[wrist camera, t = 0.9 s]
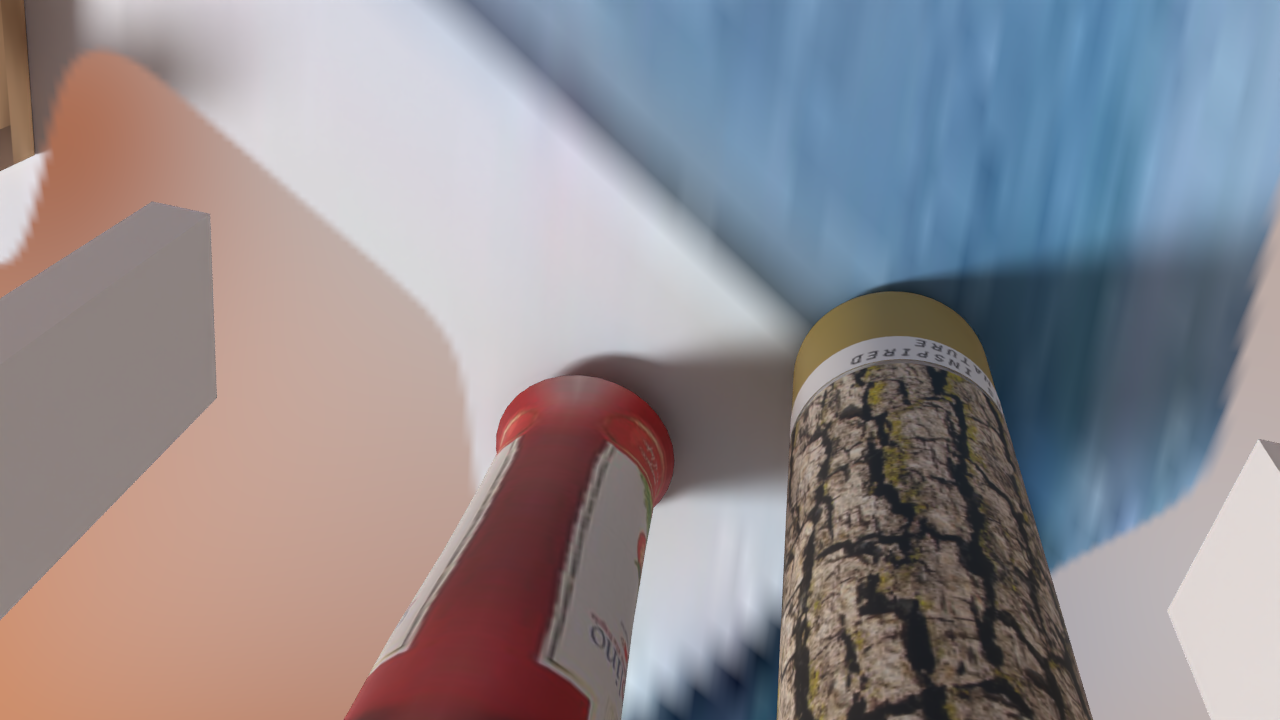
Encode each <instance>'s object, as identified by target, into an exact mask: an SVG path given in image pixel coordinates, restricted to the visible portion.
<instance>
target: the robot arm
mask: <svg viewBox="0 0 1280 720" xmlns="http://www.w3.org/2000/svg"><path fill="white" fill-rule="evenodd" d="M211 254H212V253H211V226H210V214H208V213H203V212H199V211H193V210H189V209H184V208H180V207H175V206H171V205H166V204H161V203H156V202H151V203H149V204H148V205H146V206H144V207H143V208H141V209H140V210H138V211H137V212H135V213H133V214H132V215H130V216H129V217H127V218H126V219H124V220H123V221H121V222H119V223H118V224H116V225H115V226H113V227H112V228H110V229H108V230H107V231H105V232H104V233H102V234H101V235H99V236H97V237H96V238H94V239H93V240H91V241H90V242H88V243H87V244H85V245H83V246H82V247H80V248H79V249H77V250H75V251H74V252H72V253H71V254H69V255H68V256H66V257H65V258H63V259H61V260H60V261H58V262H57V263H55V264H54V265H52V266H50V267H49V268H47V269H46V270H44V271H43V272H41V273H39V274H38V275H37V276H35V277H33V278H32V279H30V280H28V281H27V282H25V283H24V284H23V285H21V286H19V287H18V288H16V289H15V290H13V291H11V292H10V293H8V294H7V295H5V296H4V297H2V298H1V299H0V620H1V619H2V617H4V616H5V615H6V614H7V613H8V611H9V610H10V609H11V608H12V607H13V606H14V605H15V604H16V603H17V602H18V601H19V600H20V599H21V598H22V597H23V596H24V595H25V594H26V593H27V592H28V591H29V590H30V589H31V588H32V587H33V586H34V584H36V583H37V582H38V581H39V580H40V579H41V577H43V576H44V575H45V574H46V572H47V571H48V570H49V569H50V568H51V567H52V566H53V565H54V564H55V563H56V562H57V561H58V560H59V559H60V558H61V557H62V556H63V555H64V554H65V553H66V552H67V551H68V550H69V549H70V548H71V547H72V546H73V545H74V544H75V543H76V542H77V541H78V540H79V539H80V538H81V537H82V536H83V534H84V533H85V532H86V531H87V530H88V529H89V528H90V527H91V526H92V525H93V524H94V523H95V522H96V521H97V520H98V519H99V518H100V517H101V516H102V515H103V514H104V513H105V512H106V511H107V510H108V509H109V508H110V506H112V505H113V504H114V503H115V502H116V501H117V500H118V499H119V498H120V496H122V494H123V493H124V492H125V491H126V490H127V489H128V488H129V487H130V486H131V485H132V484H133V483H134V482H135V481H136V480H137V479H138V478H139V477H140V476H141V475H142V474H143V473H144V472H145V471H146V470H147V469H148V468H149V467H150V466H151V465H152V463H154V462H155V461H156V460H157V459H158V458H159V457H160V456H161V454H162V453H163V452H164V451H165V450H166V449H167V448H168V447H169V446H170V445H171V444H172V443H173V442H174V441H175V440H176V439H177V438H178V437H179V436H180V435H181V434H182V433H183V432H184V431H185V430H186V429H187V428H188V427H189V426H190V424H192V423H193V422H194V420H196V418H198V416H200V414H201V413H202V412H203V411H204V410H205V409H206V408H207V407H208V406H209V405H210V404H211V403H212V402H213V401H214V400H215V399H216V398H217V392H216V391H217V389H216V362H215V337H214V336H215V335H214V309H213V280H212V255H211ZM1167 612H1168V614H1169V617H1170V619H1171V621H1172V624H1173V626H1174V629H1175V632H1176V634H1177V637H1178V639H1179V642H1180V644H1181V646H1182V649H1183V651H1184V654H1185V656H1186V659H1187V661H1188V664H1189V666H1190V669H1191V671H1192V674H1193V676H1194V679H1195V681H1196V684H1197V686H1198V689H1199V691H1200V694H1201V696H1202V699H1203V701H1204V703H1205V706H1206V709H1207V711H1208V714H1209V716H1210V719H1211V720H1280V444H1279V443H1274V442H1270V441H1265V440H1261V439H1258V441H1257V443H1256V445H1255V446H1254V448H1253V450H1252V452H1251V454H1250V456H1249V458H1248V459H1247V461H1246V463H1245V465H1244V467H1243V469H1242V471H1241V473H1240V475H1239V476H1238V478H1237V480H1236V482H1235V484H1234V486H1233V488H1232V490H1231V491H1230V493H1229V495H1228V497H1227V499H1226V501H1225V503H1224V505H1223V507H1222V508H1221V510H1220V512H1219V514H1218V516H1217V518H1216V520H1215V522H1214V524H1213V525H1212V527H1211V529H1210V531H1209V533H1208V535H1207V537H1206V538H1205V540H1204V542H1203V544H1202V546H1201V548H1200V550H1199V552H1198V554H1197V556H1196V558H1195V559H1194V561H1193V563H1192V565H1191V567H1190V569H1189V570H1188V572H1187V574H1186V576H1185V578H1184V580H1183V582H1182V584H1181V586H1180V588H1179V589H1178V591H1177V593H1176V595H1175V597H1174V599H1173V601H1172V602H1171V604H1170V606H1169V608H1168V610H1167Z"/></svg>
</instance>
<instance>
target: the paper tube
mask: <svg viewBox="0 0 1280 720" xmlns="http://www.w3.org/2000/svg"><path fill="white" fill-rule="evenodd" d="M777 720H1093V718H1092V715H1091V712H1090V708H1089V705H1088V701H1087V698H1086V694H1085V691H1084V688H1083V684H1082V681H1081V677H1080V674H1079V671H1078V667H1077V664H1076V660H1075V657H1074V653H1073V650H1072V647H1071V643H1070V640H1069V636H1068V633H1067V630H1066V626H1065V623H1064V619H1063V616H1062V612H1061V609H1060V606H1059V602H1058V599H1057V595H1056V592H1055V589H1054V585H1053V582H1052V578H1051V575H1050V571H1049V568H1048V565H1047V561H1046V558H1045V554H1044V551H1043V547H1042V544H1041V541H1040V537H1039V534H1038V530H1037V527H1036V524H1035V520H1034V517H1033V513H1032V510H1031V506H1030V503H1029V500H1028V496H1027V493H1026V489H1025V486H1024V482H1023V479H1022V476H1021V472H1020V469H1019V465H1018V462H1017V459H1016V455H1015V452H1014V448H1013V445H1012V441H1011V438H1010V435H1009V431H1008V428H1007V424H1006V421H1005V418H1004V414H1003V411H1002V407H1001V404H1000V400H999V398H998V395H997V393H996V390H995V386H994V383H993V379H992V376H991V372H990V369H989V366H988V362H987V359H986V355H985V352H984V350H983V347H982V344H981V343H980V341H979V339H978V337H977V335H976V334H975V333H974V331H973V330H972V328H971V327H970V326H969V324H968V323H967V322H966V321H965V320H964V319H963V318H962V317H961V316H960V315H959V314H957V313H956V312H955V311H953V310H952V309H951V308H949V307H948V306H946V305H944V304H942V303H941V302H938V301H936V300H934V299H932V298H929V297H926V296H922V295H919V294H914V293H908V292H895V291H888V292H877V293H871V294H867V295H863V296H859V297H857V298H854V299H851V300H849V301H847V302H845V303H843V304H840V305H839V306H837V307H836V308H834V309H832V310H831V311H830V312H828V313H827V314H826V315H824V316H823V317H822V318H821V319H820V320H819V321H818V322H817V323H816V324H815V325H814V326H813V328H812V329H811V330H810V331H809V333H808V334H807V336H806V337H805V339H804V341H803V343H802V345H801V347H800V350H799V352H798V355H797V358H796V362H795V366H794V374H793V396H792V415H791V423H790V445H789V466H788V488H787V509H786V531H785V553H784V574H783V596H782V617H781V639H780V660H779V682H778V703H777Z"/></svg>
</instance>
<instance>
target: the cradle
mask: <svg viewBox="0 0 1280 720" xmlns="http://www.w3.org/2000/svg"><path fill="white" fill-rule="evenodd" d="M33 155H35V153H34V139H33V124H32V110H31V95H30V81H29V67H28V52H27V38H26V24H25V9H24V0H0V171H1V170H3V169H6V168H8V167H10V166H12V165H14V164H16V163H18V162H21V161H23V160H25V159H27V158H29V157H31V156H33Z"/></svg>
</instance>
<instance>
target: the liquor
mask: <svg viewBox="0 0 1280 720" xmlns="http://www.w3.org/2000/svg"><path fill="white" fill-rule="evenodd" d="M496 451H497V455H496V456H495V458H494V460H493V462H492V464H491V466H490V468H489V470H488V472H487V473H486V475H485V477H484V479H483V481H482V483H481V485H480V487H479V488H478V490H477V492H476V494H475V495H474V497H473V499H472V501H471V503H470V504H469V506H468V508H467V510H466V511H465V513H464V515H463V517H462V518H461V520H460V522H459V524H458V526H457V528H456V529H455V531H454V533H453V534H452V537H451V538H450V540H449V542H448V543H447V545H446V547H445V549H444V550H443V552H442V554H441V555H440V557H439V558H438V560H437V562H436V563H435V565H434V567H433V568H432V570H431V571H430V573H429V575H428V576H427V578H426V580H425V581H424V583H423V584H422V586H421V588H420V589H419V591H418V593H417V594H416V596H415V597H414V599H413V601H412V602H411V604H410V605H409V607H408V609H407V610H406V612H405V614H404V615H403V617H402V618H401V620H400V622H399V623H398V625H397V627H396V628H395V630H394V632H393V633H392V635H391V637H390V638H389V640H388V642H387V644H386V646H385V647H384V649H383V651H382V653H381V654H380V656H379V658H378V660H377V661H376V664H375V665H374V667H373V669H372V670H371V672H370V674H369V676H368V678H367V679H366V681H365V683H364V685H363V687H362V688H361V690H360V692H359V694H358V695H357V697H356V699H355V701H354V703H353V704H352V706H351V708H350V710H349V712H348V713H347V715H346V717H345V718H344V720H621V715H622V707H623V699H624V691H625V683H626V675H627V668H628V660H629V652H630V644H631V636H632V628H633V622H634V616H635V609H636V603H637V597H638V591H639V585H640V579H641V573H642V567H643V561H644V555H645V549H646V544H647V539H648V534H649V528H650V523H651V518H652V513H653V508H654V507H655V506H656V505H657V504H658V503H659V502H660V500H661V499H662V497H663V496H664V494H665V493H666V491H667V490H668V487H669V484H670V482H671V479H672V476H673V468H674V454H673V445H672V443H671V440H670V437H669V434H668V431H667V429H666V428H665V426H664V424H663V423H662V421H661V419H660V418H659V416H658V415H657V414H656V413H655V412H654V410H653V409H652V408H651V407H650V406H649V405H648V404H647V403H646V402H645V401H644V400H642V399H641V398H640V397H638V396H637V395H636V394H634V393H633V392H632V391H630V390H628V389H626V388H624V387H622V386H620V385H618V384H616V383H613V382H610V381H607V380H604V379H601V378H596V377H589V376H582V375H573V376H560V377H555V378H551V379H546V380H543V381H541V382H539V383H537V384H534V385H532V386H530V387H529V388H527V389H526V390H524V391H523V392H522V393H520V394H519V395H518V396H517V397H516V398H515V399H514V400H513V401H512V402H511V403H510V404H509V406H508V407H507V408H506V410H505V412H504V414H503V416H502V418H501V420H500V423H499V427H498V431H497V435H496Z"/></svg>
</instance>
